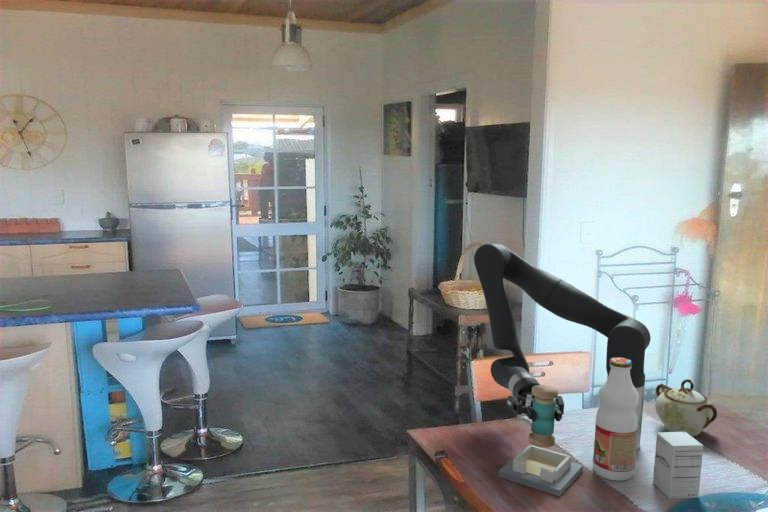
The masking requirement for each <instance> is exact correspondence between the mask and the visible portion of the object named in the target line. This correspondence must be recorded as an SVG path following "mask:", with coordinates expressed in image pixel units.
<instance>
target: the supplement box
mask: <svg viewBox="0 0 768 512" xmlns="http://www.w3.org/2000/svg"><path fill="white" fill-rule="evenodd" d="M655 441H656V442H655V453H654V465H653V472H652V473H653V474H652V484H654V485H655V486H656V487H657V488H658V489H659V490H660V491H661V492H662V493H663V494H664V495H665V496H666V497H667V498H668V499H692V498H693V499H695V498H699V496H700V485H701V474H702V464H703V455H704V453H703V452H704V445H703V443H701V442H699V440H697V439H695V438H694V436H690V435H689V434H688V433H686V432H670V431H664V432H663V431H660V432H656V439H655Z"/></svg>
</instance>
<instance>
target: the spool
mask: <svg viewBox="0 0 768 512" xmlns="http://www.w3.org/2000/svg"><path fill="white" fill-rule="evenodd" d="M532 395H533V396H535V398H534V399H533V407H532V408H533V409H534V410H535V412H536V421H532V420H531V427H530V431H531V433H529V435H528V443H530V445H534V446H537V447H541V448H544V449H547V448H551V447H554V445H555V443H556V442H555V441H556V438H555V436H554V432H555V431H554V430H555V421H556V420H555V405H556V401H555V400H554V399H556V398H557V397H558V396H559V390H558V389H557V388H556V387H554V386H551V385H548V384H547V385H546V384H540V385H536V386H533V387H532Z"/></svg>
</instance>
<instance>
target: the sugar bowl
mask: <svg viewBox="0 0 768 512" xmlns="http://www.w3.org/2000/svg"><path fill="white" fill-rule="evenodd" d="M680 383H681V384H680V387H676V388H671V387H669V386H667V385H666V384H663V383H659V384H657V386H656V387H655V388H656V389H655V393H656V396H657V398H656V400H655V403H654V404H655V405H654V406H655V408H654V409H655V412H656V414H657V416H658V418H659V420H660V421H661V422H662V424H663V425H664V426H665V429H666V430H667V432H686V433H688V434H689V435H690V436H692V437H696V436H699V434H700V433H702V431H704V430H705V429H706V428H707V427H709V425H710V424H711V423H712V422H715V420H716V419H717V418H718V417H717V416H718V411H717V409H716V407H715V405H713V404H712V402H711V401H710V400H709V399H708V398H707V397H706V396H705V395H704V394H703V393H700V392H698V391H696V390H694V382H693V381H692V379H688V378H687V379H684V380H683V381H681V382H680ZM686 383H689V385H690V388H688V387H685V384H686ZM660 389H661V390H660Z"/></svg>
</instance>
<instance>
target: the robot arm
mask: <svg viewBox="0 0 768 512" xmlns="http://www.w3.org/2000/svg"><path fill="white" fill-rule="evenodd" d="M473 263H474V267H475V270H476V274H477V276H478V280H479V283H480V285H481V289H482V293H483V295H484V296H483V297H484V299H485V303H486V304H485V305H486V309H487V314H488V319H489V327H490V331H491V332H490V333H491V338H492V344H493V347H494V348H495V349H496V350H500V351H501V350H502V351H504V350H505V351H509V352H511V354H512V356H508V357H502V358H501V357H499V358H496V359H494V360H493V361H492V363H491V365H490V374H491V377H492V379H493V380H494V382H495V383H496V384H497V385H498V386H500V387H502V388H505V389H506V390H508V391H509V392H510V394H511V395H508V396H507V407H508V408H509V409H510V410H511V411H512V412H513V413H515V414H516V415H519V416H520V415H522V414H524V415H525V416H526V417H527V418H528V419H529V420H531V422H532V421H536V412H535V410H534V409H533V408H532V407H533V399H534V398H535V396H533V395H532V387H533V386H536V385H541V384H540V382H539V381H538V380H537V379H536V378H535V377H534V376H533V375H531V374H530V366H529V364H528V362H527V360H526V357H525V355H524V353H523V351H522V348H521V346H520V343H519V337H518V332H517V325H516V321H515V316H514V313H513V310H512V307H511V305H510V303H509V300H508V297H507V294H506V290H505V285H504V279H505V280H506V281H508V282H510V283H512V284H513V285H516V286H517V287H518V288H519V289H521V290H523V292H525V293H526V294H527V295H528V297H530V299H532V300H533V301H534V302H535V303H536V304H537V305H539V306H540V307H542V308H543V309H545V310H546V311H548V312H550V313H552V314H553V315H555V316H556V317H559V318H561V319H563V320H566V321H569V322H572V323H575V324H579V325H581V326H585V327H588V328H590V329H593V330H595V331H596V332H598V333H600V334H601V335H603V336H604V337H606V338H607V343H606V357H605V358H606V360H605V361H606V363H605V369H606V374H607V376H606V380H607V379H608V377H609V374H610V370H611V367H610V359H611V358H616V357H619V358H626V359H629V360H631V361H632V368H631V369H630V376H631V380H632V383H633V385H634V387H635V388H636V390H637V392H638V394H639V403H638V406H637V408H636V413H637V417H638V429H637V441H636V451H638V450H640V447H641V437H642V423H643V413H644V400H645V387H646V386H645V385H646V374H645V355H646V350H647V348H648V347H649V345H650V344H651V338H652V337H651V333H650V331H649V329H648V328H647V326H646V325H645V324H644V323H643V322H641V321H639V320H637V319H636V318H633V317H631V316H628V315H626V314H623V313H621V312H619V311H618V310H615V309H612V308H611V307H609V306H607V305H605V304H604V303H602V302H600V301H598V300H597V299H595V297H592V296H591V295H589V294H587V293H586V292H584V291H582V290H581V289H579V288H578V287H576V286H574V285H573V284H571V283H569V282H567V281H565V280H564V279H562V278H561V277H558V276H556V275H554V274H552V273H550V272H549V271H547V270H544V269H542V268H540V267H537V266H535V265H533V264H531V263H530V262H528V261H526V260H525V259H523V258H522V257H521V256H519V255H518V254H517V253H515V252H514V251H513V250H511V249H509V248H508V247H507V246H505V245H503V244H500V243H485V244H482V245H480V246H479V247H478V248H477V249H476V250H475V252H474V256H473ZM554 400H555V401H556V405H555V420H554V421H556V422H561V420H562V418H563V415H565V412H564V411H565V402H564V399H563V397H562V396H561V395H558V397H557V398H555V399H554Z"/></svg>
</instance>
